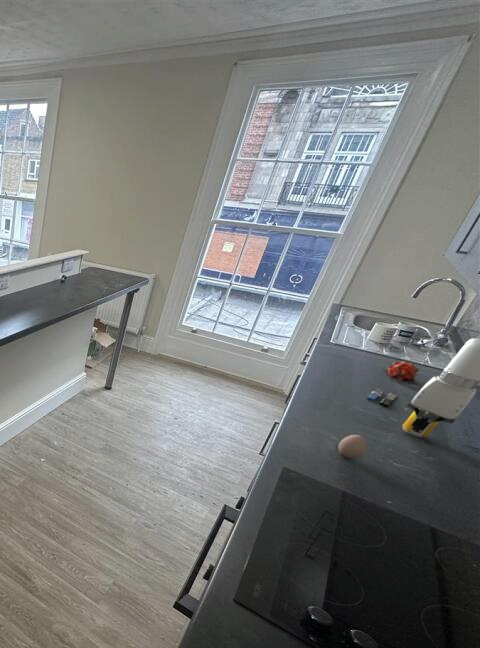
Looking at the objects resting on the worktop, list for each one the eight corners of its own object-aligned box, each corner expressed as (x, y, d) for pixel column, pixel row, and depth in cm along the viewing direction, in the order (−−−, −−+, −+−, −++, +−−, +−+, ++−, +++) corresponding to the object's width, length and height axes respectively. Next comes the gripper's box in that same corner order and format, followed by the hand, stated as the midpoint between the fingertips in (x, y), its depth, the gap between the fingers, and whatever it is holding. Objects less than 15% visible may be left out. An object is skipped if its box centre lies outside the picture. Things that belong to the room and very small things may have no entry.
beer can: (422, 431, 131) (455, 393, 124) (428, 440, 127) (462, 401, 119) (398, 424, 134) (429, 386, 126) (403, 432, 129) (435, 394, 122)
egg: (357, 457, 115) (373, 437, 111) (355, 465, 112) (371, 444, 108) (335, 447, 118) (349, 428, 115) (332, 455, 115) (346, 434, 111)
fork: (374, 402, 147) (375, 399, 146) (365, 398, 148) (366, 396, 148) (384, 392, 154) (385, 390, 154) (375, 389, 156) (376, 387, 156)
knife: (386, 407, 144) (388, 405, 143) (379, 404, 145) (380, 402, 145) (397, 396, 152) (398, 394, 152) (389, 393, 154) (391, 391, 153)
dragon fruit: (399, 379, 170) (391, 390, 164) (385, 363, 172) (376, 372, 166) (425, 371, 163) (418, 382, 157) (410, 354, 164) (402, 364, 159)
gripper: (496, 389, 114) (449, 439, 123) (426, 366, 124) (388, 414, 133) (493, 395, 110) (446, 446, 119) (421, 371, 120) (382, 420, 129)
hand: (415, 429), depth 126 cm, fingers closed
